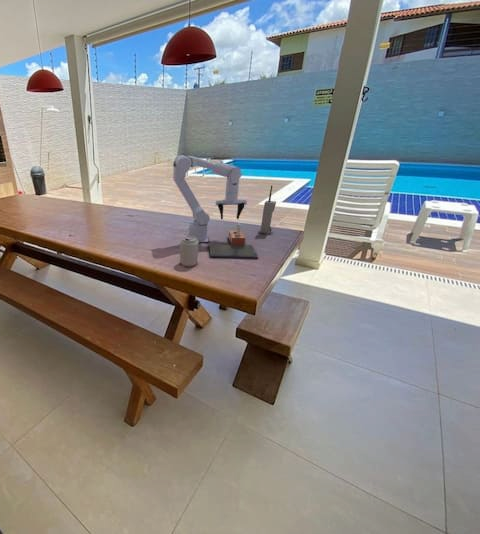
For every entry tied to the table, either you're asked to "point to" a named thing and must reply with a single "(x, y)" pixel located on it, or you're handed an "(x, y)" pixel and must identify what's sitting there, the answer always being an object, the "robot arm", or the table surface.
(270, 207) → the vintage mobile phone
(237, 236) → the stylus
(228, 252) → the tablet
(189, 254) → the can
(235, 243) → the pen stand
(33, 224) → the table surface
